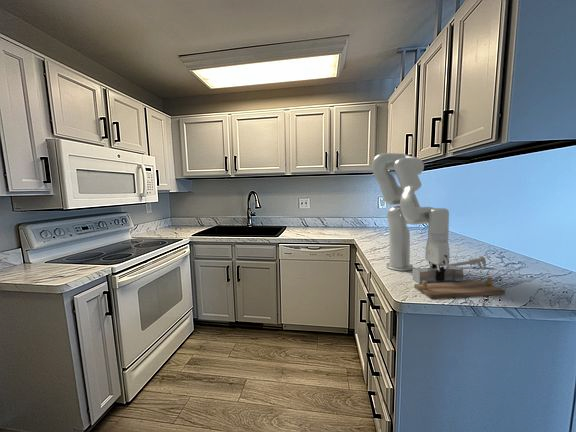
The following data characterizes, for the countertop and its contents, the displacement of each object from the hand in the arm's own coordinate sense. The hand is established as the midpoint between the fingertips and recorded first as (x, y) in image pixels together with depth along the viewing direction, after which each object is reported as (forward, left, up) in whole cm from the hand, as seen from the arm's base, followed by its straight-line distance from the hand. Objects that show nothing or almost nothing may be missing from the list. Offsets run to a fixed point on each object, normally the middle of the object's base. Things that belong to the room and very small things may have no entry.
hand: (437, 278), depth 112 cm
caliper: (-16, +23, -1) cm, 28 cm away
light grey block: (0, 0, -1) cm, 1 cm away
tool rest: (+12, 0, -1) cm, 12 cm away
